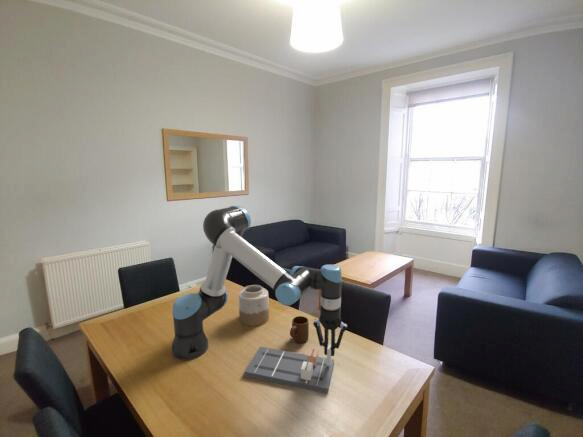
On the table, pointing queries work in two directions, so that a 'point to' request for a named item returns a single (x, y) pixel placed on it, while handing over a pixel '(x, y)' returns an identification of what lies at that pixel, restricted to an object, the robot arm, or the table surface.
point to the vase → (253, 305)
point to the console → (289, 369)
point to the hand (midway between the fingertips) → (329, 362)
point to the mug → (300, 329)
